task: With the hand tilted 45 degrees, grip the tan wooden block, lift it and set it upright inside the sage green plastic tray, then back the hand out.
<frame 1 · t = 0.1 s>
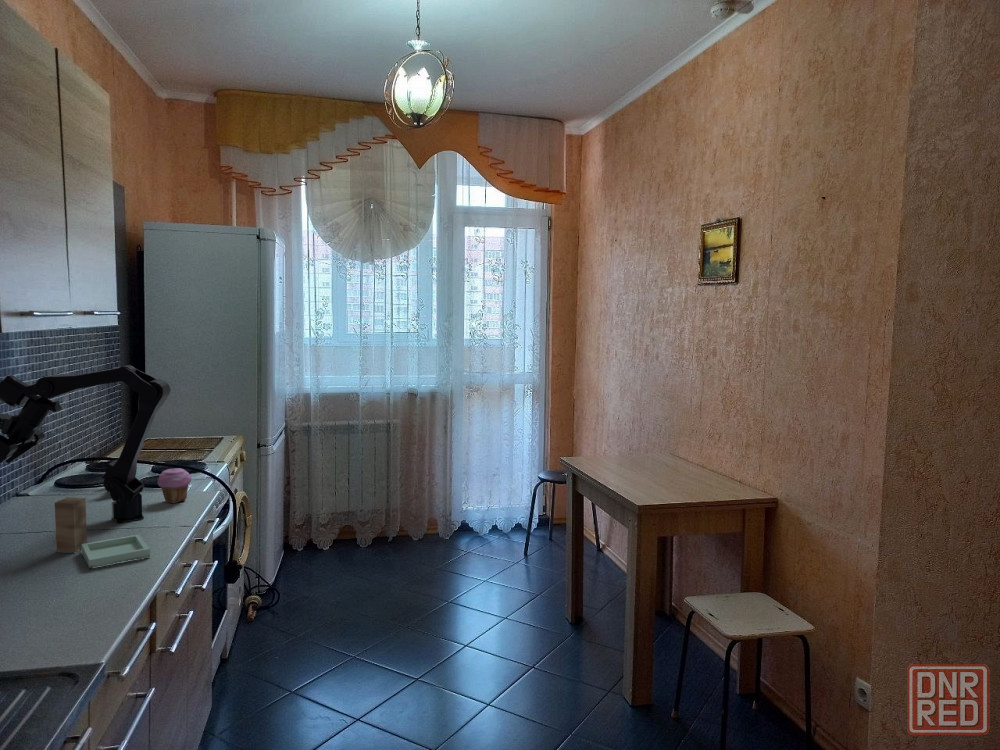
valve: (116, 492, 205), on the counter
cupcake: (175, 501, 197), on the counter
tray: (115, 555, 155), on the counter
tan wooden block: (72, 549, 158), on the counter
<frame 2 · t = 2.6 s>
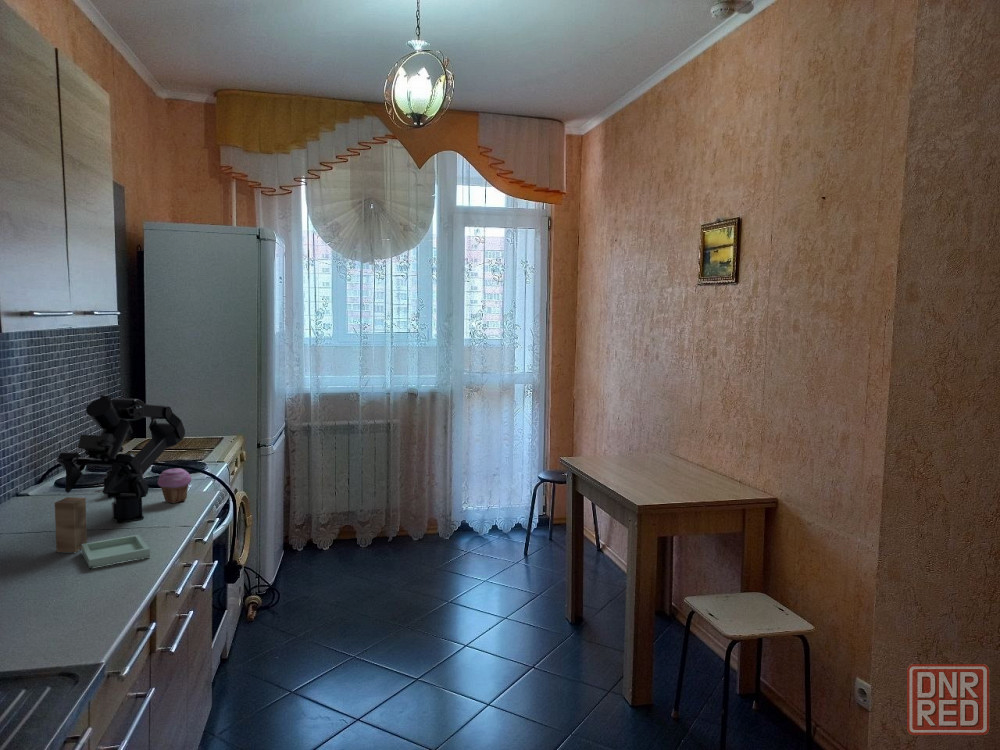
hand: (85, 492, 162), 12 cm above the counter, tool tilted 45°, fingers open, 9 cm apart
nothing on the counter moved.
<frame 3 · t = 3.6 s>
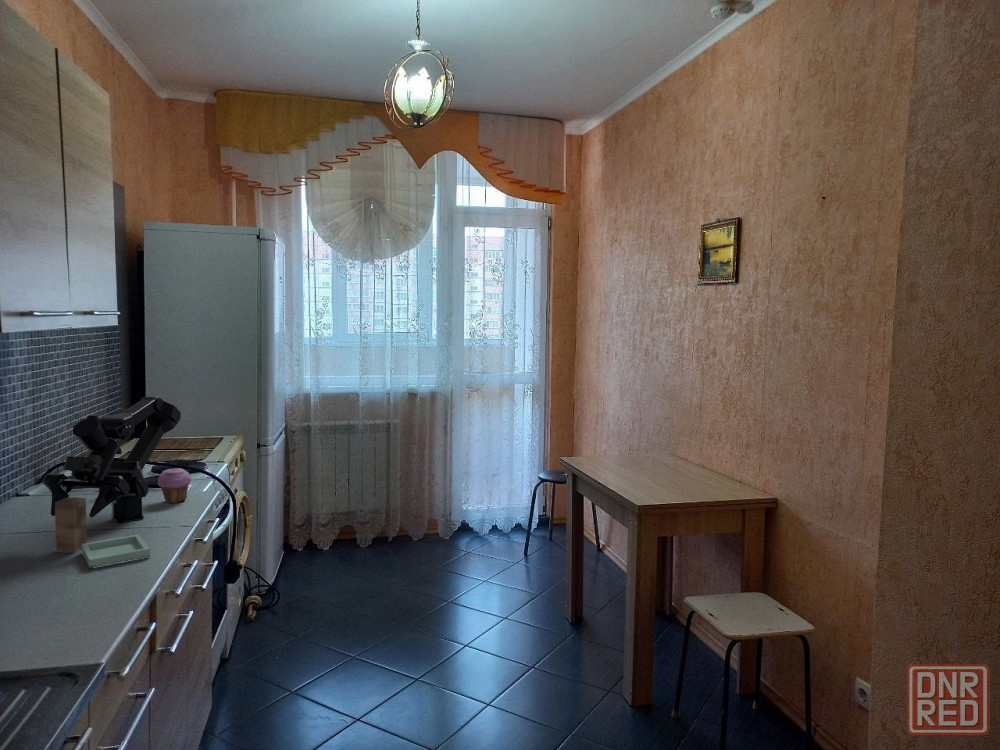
hand: (71, 516, 157), 8 cm above the counter, tool tilted 45°, fingers open, 9 cm apart
nothing on the counter moved.
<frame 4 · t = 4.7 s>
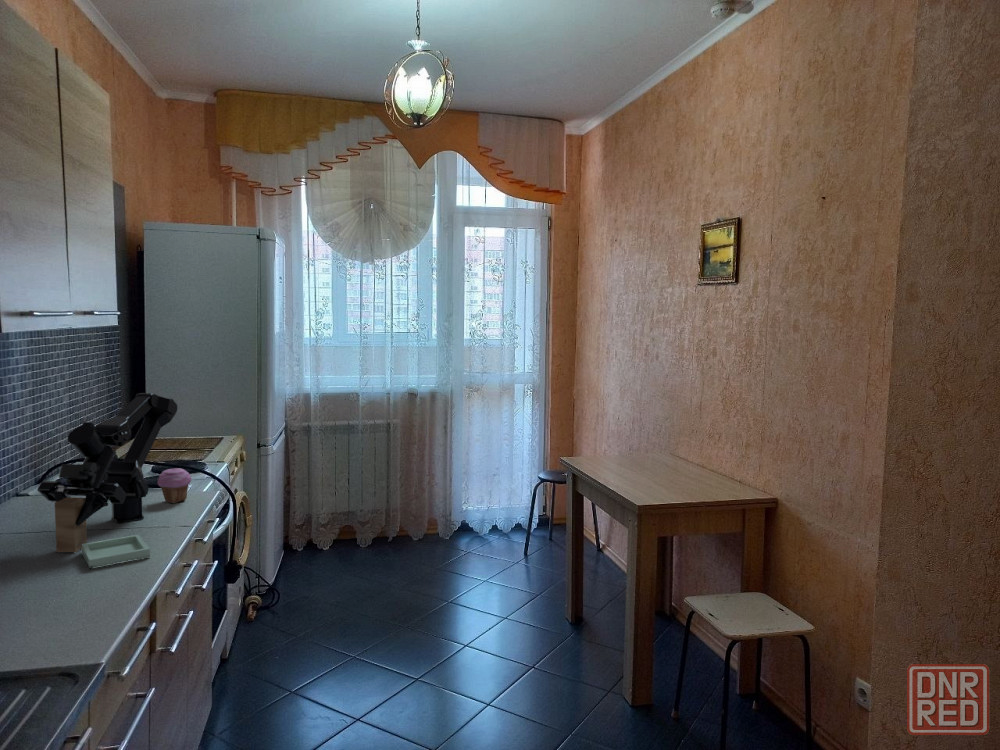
hand: (67, 524, 156), 7 cm above the counter, tool tilted 45°, fingers closed on tan wooden block, 4 cm apart
tan wooden block: (72, 549, 158), on the counter, touching gripper
everything else where it was.
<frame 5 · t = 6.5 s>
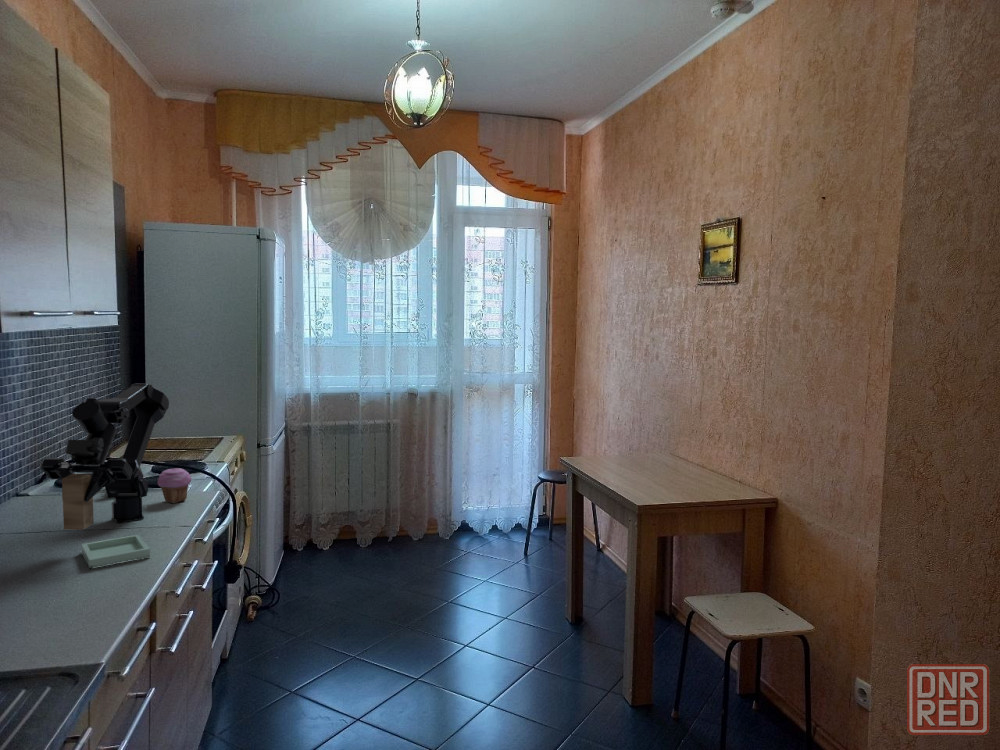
hand: (74, 500, 154), 13 cm above the counter, tool tilted 45°, fingers closed on tan wooden block, 4 cm apart
tan wooden block: (79, 526, 156), point 6 cm above the counter, touching gripper
everything else where it was.
when the fingers open (9 cm above the counter, at t = 8.5 s): tan wooden block drops 1 cm, resting on tray.
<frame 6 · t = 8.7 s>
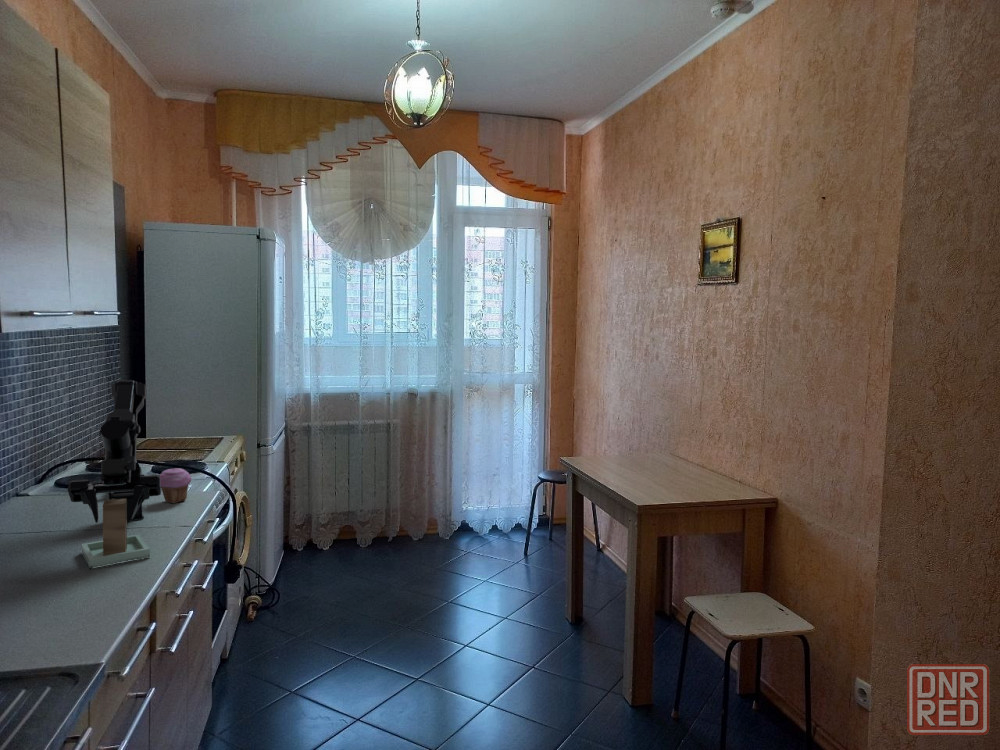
hand: (113, 520, 152), 9 cm above the counter, tool tilted 45°, fingers open, 7 cm apart
tan wooden block: (115, 552, 154), point 1 cm above the counter, touching tray
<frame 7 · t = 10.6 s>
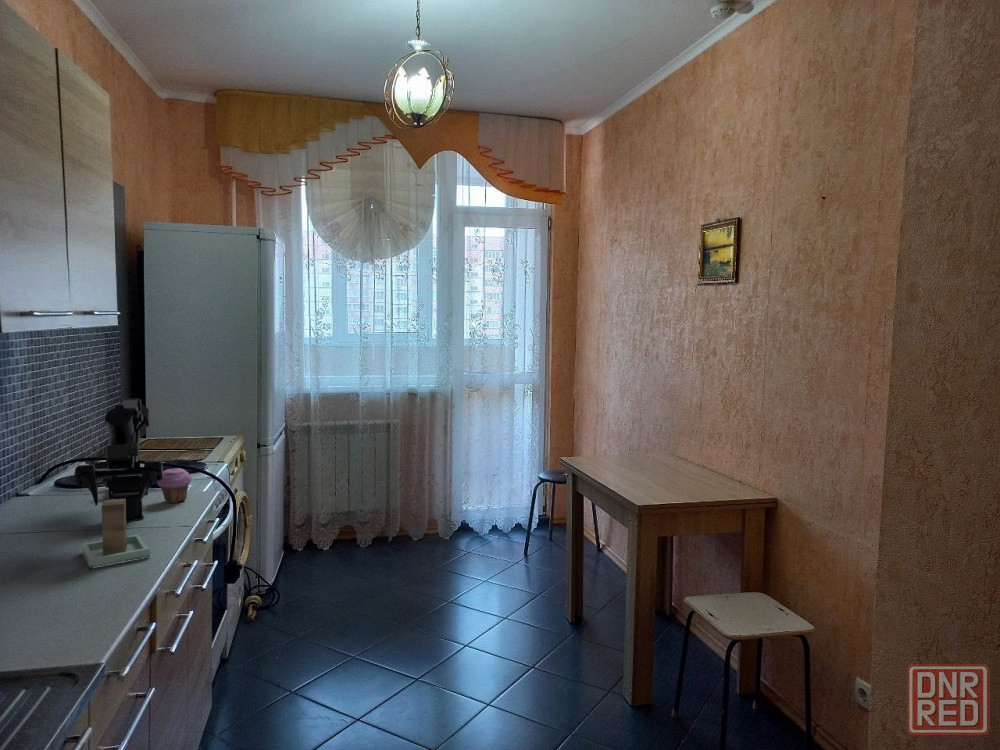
hand: (118, 502, 160), 10 cm above the counter, tool tilted 45°, fingers open, 9 cm apart
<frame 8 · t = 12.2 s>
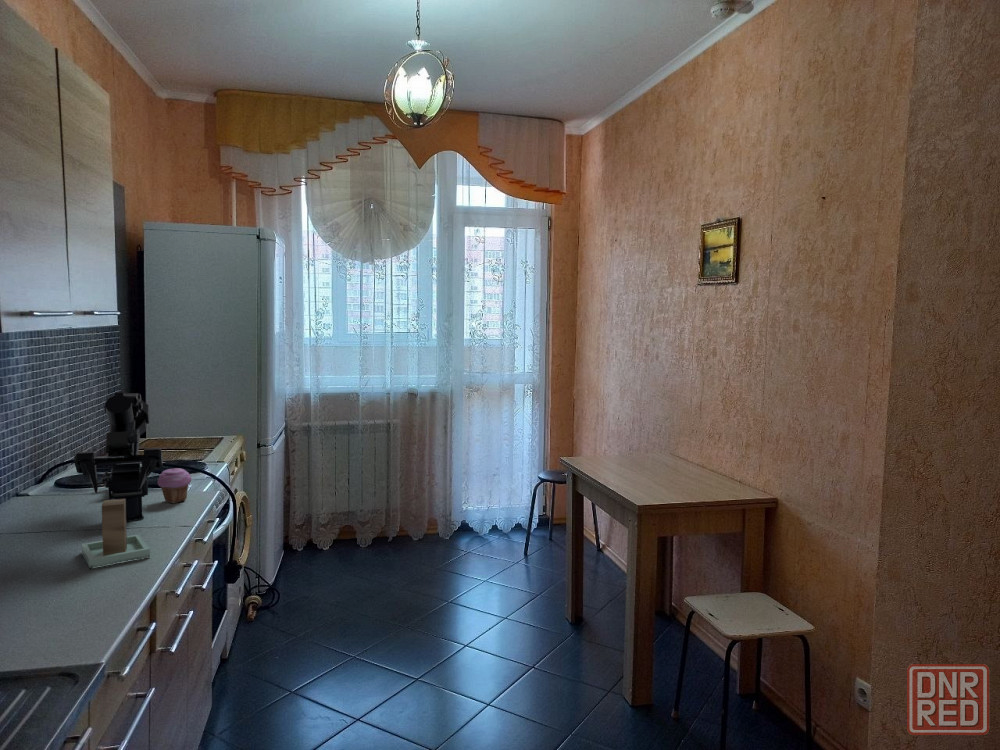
hand: (117, 490, 160), 14 cm above the counter, tool tilted 45°, fingers open, 9 cm apart
at the end: tan wooden block inside the target area on the tray (0.1 cm from its centre), point 0.8 cm above the tray's base; tan wooden block tilted 0° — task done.
